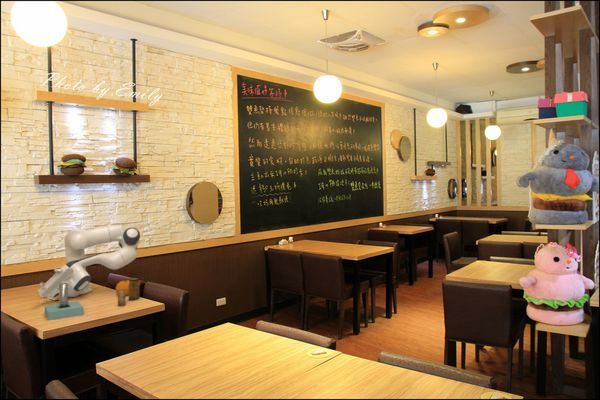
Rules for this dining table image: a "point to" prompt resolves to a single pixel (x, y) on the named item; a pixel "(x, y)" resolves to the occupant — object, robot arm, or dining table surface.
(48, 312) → the hole plate
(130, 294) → the condiment
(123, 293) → the short pin
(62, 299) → the long pin
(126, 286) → the fruit
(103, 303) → the dining table surface
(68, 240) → the robot arm
